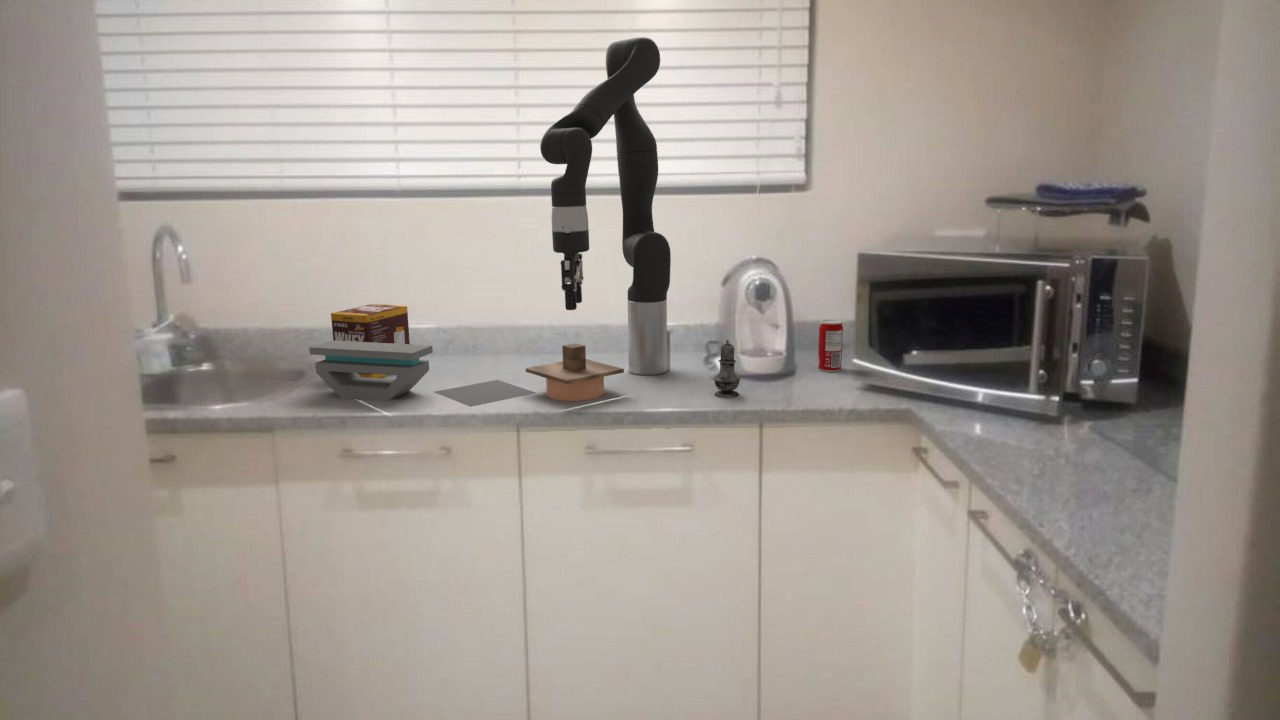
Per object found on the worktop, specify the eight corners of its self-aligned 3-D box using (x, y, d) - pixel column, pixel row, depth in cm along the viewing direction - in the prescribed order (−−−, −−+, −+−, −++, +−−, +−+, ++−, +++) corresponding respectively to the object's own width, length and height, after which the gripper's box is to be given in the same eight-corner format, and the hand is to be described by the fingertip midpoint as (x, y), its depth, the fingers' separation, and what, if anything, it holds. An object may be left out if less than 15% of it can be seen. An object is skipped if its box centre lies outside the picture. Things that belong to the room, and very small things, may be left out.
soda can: (825, 366, 208) (827, 317, 205) (845, 369, 204) (847, 319, 202) (813, 370, 204) (814, 320, 201) (833, 373, 200) (835, 323, 198)
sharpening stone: (314, 396, 185) (309, 347, 183) (336, 387, 193) (331, 340, 190) (416, 404, 178) (412, 353, 176) (435, 394, 186) (432, 345, 183)
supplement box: (335, 377, 202) (329, 312, 198) (378, 364, 216) (373, 303, 212) (370, 381, 198) (365, 315, 195) (412, 367, 212) (407, 305, 208)
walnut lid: (581, 361, 193) (581, 336, 192) (623, 372, 182) (623, 345, 181) (525, 371, 184) (524, 345, 182) (566, 384, 173) (565, 356, 171)
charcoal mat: (497, 381, 196) (497, 379, 196) (536, 394, 185) (536, 392, 185) (433, 393, 186) (433, 391, 186) (470, 408, 174) (470, 406, 174)
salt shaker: (739, 398, 179) (740, 342, 177) (711, 397, 181) (711, 341, 178) (741, 391, 185) (742, 337, 182) (714, 390, 186) (715, 336, 184)
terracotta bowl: (580, 385, 192) (580, 363, 191) (614, 395, 183) (614, 372, 182) (536, 394, 185) (535, 371, 184) (568, 405, 176) (568, 381, 175)
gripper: (557, 226, 183) (561, 301, 187) (546, 231, 169) (550, 312, 173) (592, 225, 183) (595, 300, 186) (583, 230, 169) (587, 311, 172)
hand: (574, 306), depth 180 cm, fingers open, 8 cm apart
